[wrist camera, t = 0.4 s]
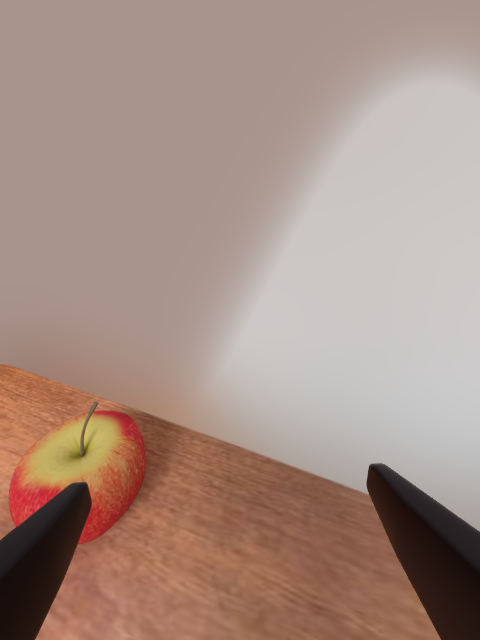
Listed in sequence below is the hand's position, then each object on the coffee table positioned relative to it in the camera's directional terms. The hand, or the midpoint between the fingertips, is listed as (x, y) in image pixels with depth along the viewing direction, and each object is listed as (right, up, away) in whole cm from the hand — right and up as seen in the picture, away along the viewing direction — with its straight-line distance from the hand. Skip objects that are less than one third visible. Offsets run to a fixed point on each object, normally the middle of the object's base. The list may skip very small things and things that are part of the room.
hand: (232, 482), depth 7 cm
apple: (-12, -11, +12) cm, 20 cm away
